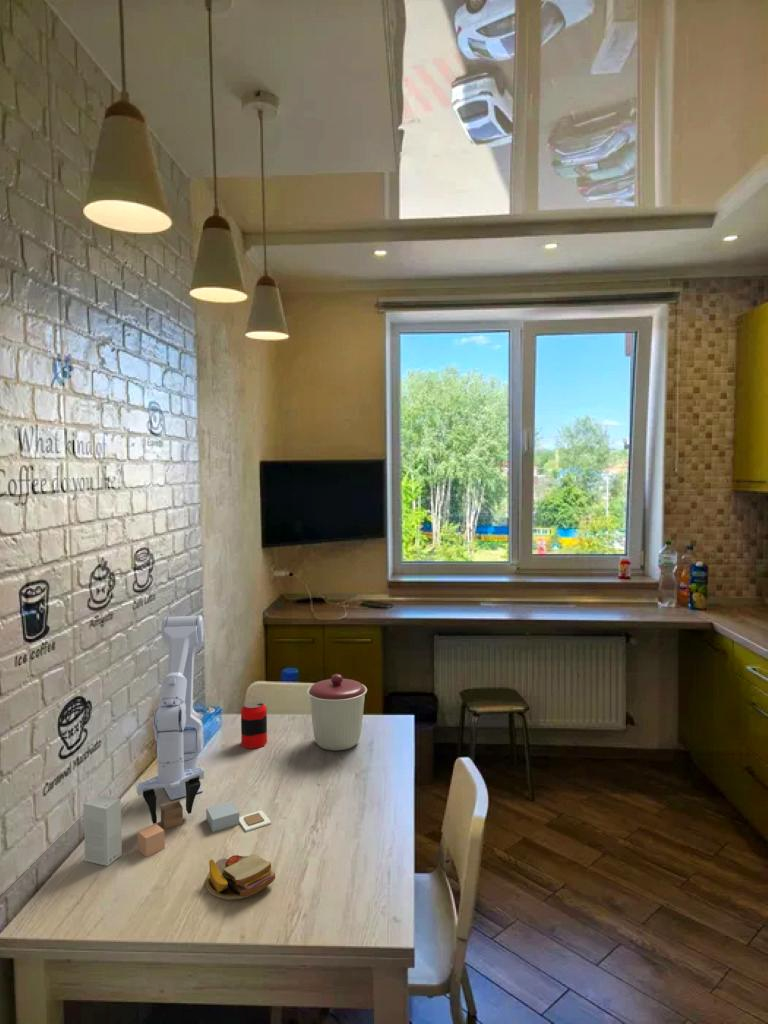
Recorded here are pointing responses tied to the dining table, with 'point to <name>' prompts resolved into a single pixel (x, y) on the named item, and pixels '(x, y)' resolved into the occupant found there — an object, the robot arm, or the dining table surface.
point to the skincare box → (102, 830)
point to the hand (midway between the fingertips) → (171, 816)
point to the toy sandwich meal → (238, 876)
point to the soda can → (253, 725)
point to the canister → (337, 712)
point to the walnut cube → (171, 814)
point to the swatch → (254, 820)
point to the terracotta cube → (151, 839)
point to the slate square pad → (222, 816)
